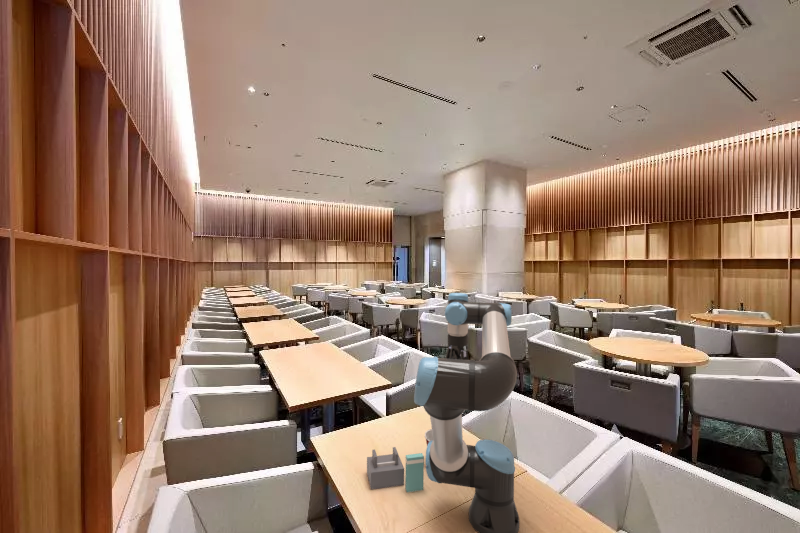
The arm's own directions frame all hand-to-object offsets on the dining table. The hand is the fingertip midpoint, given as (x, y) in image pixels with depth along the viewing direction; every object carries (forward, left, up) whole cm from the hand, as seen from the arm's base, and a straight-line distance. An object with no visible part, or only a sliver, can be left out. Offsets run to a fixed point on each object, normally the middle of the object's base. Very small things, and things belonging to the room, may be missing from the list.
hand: (456, 390), depth 134 cm
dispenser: (+2, +27, -32) cm, 42 cm away
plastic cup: (+6, +5, -32) cm, 33 cm away
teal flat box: (-6, +18, -32) cm, 37 cm away
